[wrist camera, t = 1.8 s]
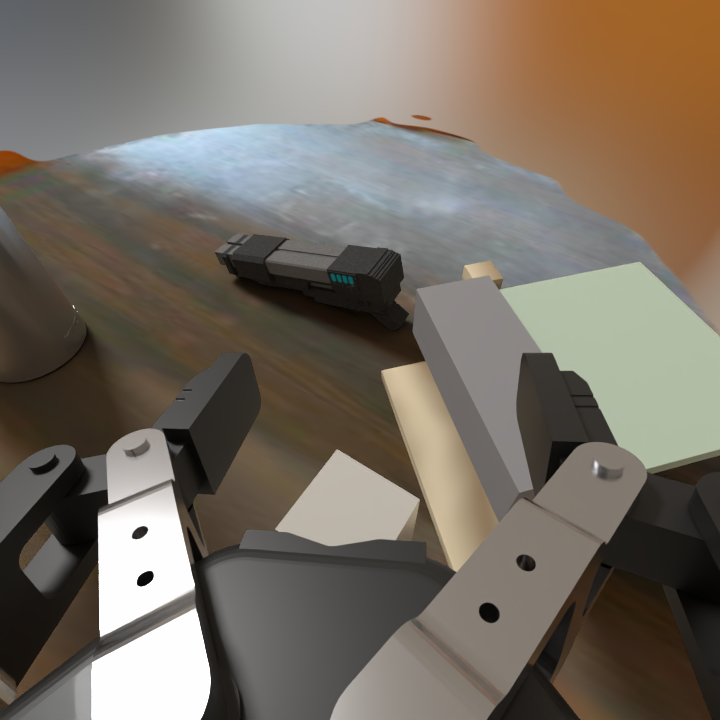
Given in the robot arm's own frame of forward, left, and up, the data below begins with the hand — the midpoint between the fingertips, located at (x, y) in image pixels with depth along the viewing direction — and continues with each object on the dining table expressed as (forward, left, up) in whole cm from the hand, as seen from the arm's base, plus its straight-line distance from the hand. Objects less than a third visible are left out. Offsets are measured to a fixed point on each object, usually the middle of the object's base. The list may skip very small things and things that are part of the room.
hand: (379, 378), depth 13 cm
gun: (+1, +27, -21) cm, 35 cm away
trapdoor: (+15, +5, -12) cm, 20 cm away
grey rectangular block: (-1, -1, -20) cm, 21 cm away
